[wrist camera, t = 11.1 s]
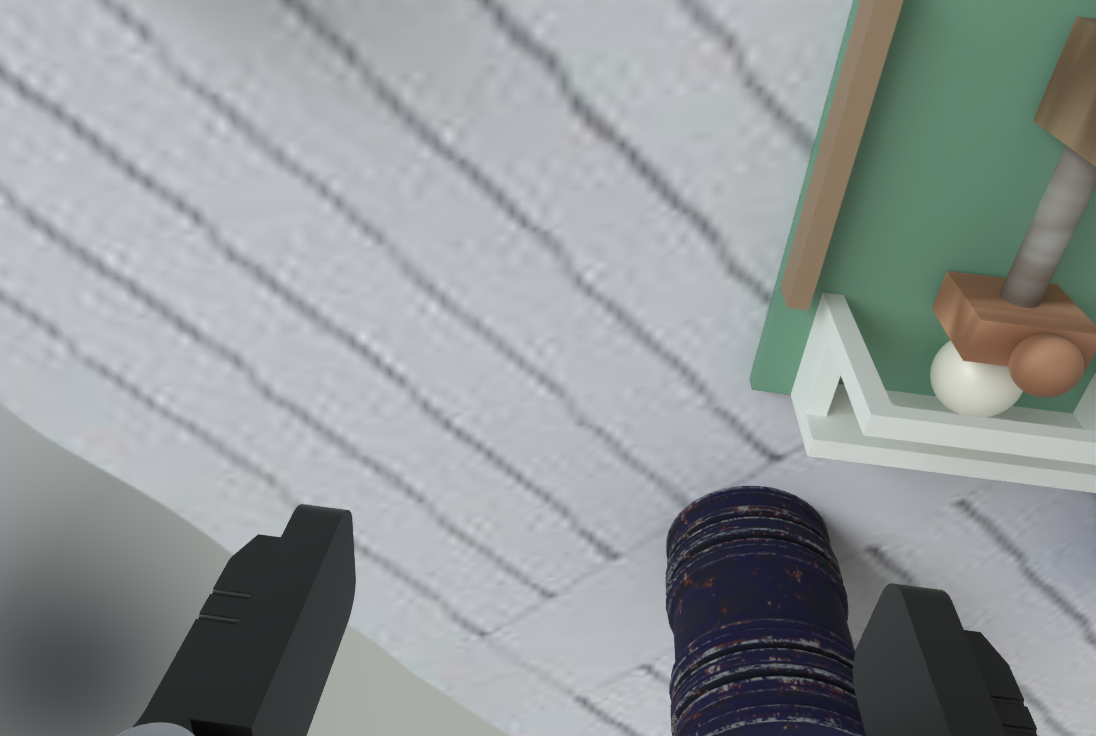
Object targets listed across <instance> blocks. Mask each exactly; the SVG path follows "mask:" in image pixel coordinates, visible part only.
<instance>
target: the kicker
mask: <svg viewBox="0 0 1096 736" xmlns="http://www.w3.org/2000/svg"><path fill="white" fill-rule="evenodd" d="M1033 121H1034V122H1035V123H1037V124H1038V125H1039V126H1041V127H1042V128H1043V129H1045V130H1046V131H1048V132H1049V133H1050V134H1052V135H1053V136H1054V137H1056V138H1057V139H1058V140H1060V141H1061V142H1062V143H1064V144H1065V148H1064V150H1063V152H1062V154H1061V157H1060V159H1059V161H1058V163H1057V166H1056V168H1055V170H1054V172H1053V175H1052V177H1051V179H1050V181H1049V183H1048V186H1047V188H1046V190H1045V192H1044V195H1043V197H1042V199H1041V201H1040V204H1039V206H1038V208H1037V210H1036V213H1035V215H1034V217H1033V219H1032V221H1031V224H1030V226H1029V228H1028V230H1027V233H1026V235H1025V237H1024V239H1023V242H1022V244H1021V246H1020V248H1019V251H1018V253H1017V255H1016V257H1015V259H1014V262H1013V264H1012V266H1011V268H1010V271H1009V273H1008V275H1007V277H1006V278H1000V277H992V276H984V275H975V274H967V273H959V272H951V271H947V272H946V275H945V277H944V280H943V282H942V285H941V287H940V290H939V292H938V295H937V297H936V300H935V302H934V305H933V307H932V311H933V312H934V314H935V315H936V317H937V319H938V320H939V322H940V324H941V325H942V327H943V329H944V330H945V332H946V333H947V335H948V337H949V338H950V340H951V342H952V343H953V345H954V347H955V348H956V350H957V351H958V353H959V355H960V356H961V358H962V360H963V361H968V362H976V363H984V364H992V365H1000V366H1008V367H1009V372H1010V376H1011V378H1012V380H1013V381H1014V383H1015V384H1016V385H1017V386H1018V387H1019V388H1020V389H1021V390H1023V391H1024V392H1026V393H1028V394H1030V395H1033V396H1036V397H1043V398H1050V397H1056V396H1060V395H1062V394H1065V393H1067V392H1068V391H1070V390H1071V389H1072V388H1074V387H1075V386H1076V385H1077V383H1078V382H1079V381H1080V379H1081V377H1082V376H1083V374H1084V372H1085V370H1086V368H1087V367H1088V365H1089V363H1090V361H1091V359H1092V357H1093V356H1094V354H1095V352H1096V326H1095V325H1094V323H1093V322H1092V321H1091V320H1090V319H1089V318H1088V317H1087V316H1086V315H1085V314H1084V313H1083V311H1082V310H1081V309H1080V308H1079V307H1078V306H1077V305H1076V304H1075V303H1074V302H1073V301H1072V300H1071V298H1070V297H1069V296H1068V295H1067V294H1066V293H1065V292H1064V291H1063V290H1062V289H1061V288H1060V286H1059V285H1058V284H1050V281H1051V279H1052V277H1053V275H1054V273H1055V271H1056V269H1057V267H1058V265H1059V263H1060V260H1061V258H1062V256H1063V254H1064V252H1065V250H1066V248H1067V246H1068V244H1069V242H1070V240H1071V238H1072V236H1073V234H1074V231H1075V229H1076V227H1077V225H1078V223H1079V221H1080V219H1081V217H1082V215H1083V213H1084V211H1085V209H1086V207H1087V204H1088V202H1089V200H1090V198H1091V196H1092V194H1093V192H1094V190H1095V188H1096V18H1087V17H1078V16H1077V17H1076V19H1075V21H1074V24H1073V26H1072V29H1071V31H1070V33H1069V36H1068V38H1067V40H1066V43H1065V45H1064V48H1063V50H1062V52H1061V55H1060V57H1059V60H1058V62H1057V64H1056V67H1055V69H1054V72H1053V74H1052V76H1051V79H1050V81H1049V84H1048V86H1047V88H1046V91H1045V93H1044V96H1043V98H1042V100H1041V103H1040V105H1039V107H1038V110H1037V112H1036V115H1035V117H1034V119H1033Z"/></svg>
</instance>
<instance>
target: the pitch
mask: <svg viewBox="0 0 1096 736" xmlns="http://www.w3.org/2000/svg"><path fill="white" fill-rule="evenodd" d="M1077 16H1078V17H1087V18H1096V0H854V1H853V5H852V8H851V12H850V16H849V19H848V23H847V27H846V30H845V34H844V37H843V41H842V45H841V48H840V52H839V56H838V59H837V63H836V67H835V70H834V74H833V78H832V81H831V85H830V88H829V92H828V96H827V99H826V103H825V107H824V110H823V114H822V118H821V121H820V125H819V129H818V132H817V136H816V139H815V143H814V147H813V150H812V154H811V158H810V161H809V165H808V169H807V172H806V176H805V180H804V183H803V187H802V190H801V194H800V198H799V201H798V205H797V209H796V212H795V216H794V220H793V223H792V227H791V231H790V234H789V238H788V241H787V245H786V249H785V252H784V256H783V260H782V263H781V267H780V271H779V274H778V278H777V282H776V285H775V289H774V292H773V296H772V300H771V303H770V307H769V311H768V314H767V318H766V322H765V325H764V329H763V333H762V336H761V340H760V343H759V347H758V351H757V354H756V358H755V362H754V365H753V369H752V373H751V376H750V383H751V388H752V390H758V391H766V392H774V393H782V394H790V395H791V398H792V402H793V405H794V409H795V413H796V416H797V420H798V424H799V427H800V431H801V435H802V439H803V442H804V446H805V450H806V453H807V456H810V457H818V458H826V459H833V460H841V461H849V462H857V463H865V464H873V465H880V466H888V467H896V468H904V469H912V470H919V471H927V472H935V473H943V474H951V475H959V476H966V477H974V478H982V479H990V480H998V481H1006V482H1013V483H1021V484H1029V485H1037V486H1045V487H1052V488H1060V489H1068V490H1076V491H1084V492H1092V493H1096V352H1095V354H1094V356H1093V357H1092V359H1091V361H1090V363H1089V365H1088V367H1087V368H1086V370H1085V372H1084V374H1083V376H1082V377H1081V379H1080V381H1079V382H1078V383H1077V385H1076V386H1075V387H1074V388H1072V389H1071V390H1070V391H1068V392H1067V393H1065V394H1062V395H1060V396H1056V397H1050V398H1043V397H1036V396H1033V395H1030V394H1028V393H1026V392H1024V391H1023V392H1022V394H1021V396H1020V397H1019V399H1018V400H1017V401H1016V402H1015V403H1014V404H1013V405H1012V406H1011V407H1010V408H1008V409H1007V410H1006V411H1004V412H1002V413H1000V414H997V415H994V416H991V417H979V416H971V415H963V414H957V413H955V412H953V411H951V410H950V409H948V408H947V407H946V406H945V405H944V404H943V403H942V402H941V401H940V400H939V399H938V397H937V396H936V395H935V393H934V391H933V388H932V385H931V379H930V370H931V365H932V362H933V360H934V357H935V356H936V354H937V352H938V351H939V350H940V349H941V348H942V347H943V346H944V345H945V344H946V343H947V342H949V341H950V338H949V337H948V335H947V333H946V332H945V330H944V329H943V327H942V325H941V324H940V322H939V320H938V319H937V317H936V315H935V314H934V312H933V311H932V307H933V305H934V302H935V300H936V297H937V295H938V292H939V290H940V287H941V285H942V282H943V280H944V277H945V275H946V272H947V271H951V272H959V273H967V274H975V275H984V276H992V277H1000V278H1006V277H1007V275H1008V273H1009V271H1010V268H1011V266H1012V264H1013V262H1014V259H1015V257H1016V255H1017V253H1018V251H1019V248H1020V246H1021V244H1022V242H1023V239H1024V237H1025V235H1026V233H1027V230H1028V228H1029V226H1030V224H1031V221H1032V219H1033V217H1034V215H1035V213H1036V210H1037V208H1038V206H1039V204H1040V201H1041V199H1042V197H1043V195H1044V192H1045V190H1046V188H1047V186H1048V183H1049V181H1050V179H1051V177H1052V175H1053V172H1054V170H1055V168H1056V166H1057V163H1058V161H1059V159H1060V157H1061V154H1062V152H1063V150H1064V148H1065V144H1064V143H1062V142H1061V141H1060V140H1058V139H1057V138H1056V137H1054V136H1053V135H1052V134H1050V133H1049V132H1048V131H1046V130H1045V129H1043V128H1042V127H1041V126H1039V125H1038V124H1037V123H1035V122H1034V121H1033V119H1034V117H1035V115H1036V112H1037V110H1038V107H1039V105H1040V103H1041V100H1042V98H1043V96H1044V93H1045V91H1046V88H1047V86H1048V84H1049V81H1050V79H1051V76H1052V74H1053V72H1054V69H1055V67H1056V64H1057V62H1058V60H1059V57H1060V55H1061V52H1062V50H1063V48H1064V45H1065V43H1066V40H1067V38H1068V36H1069V33H1070V31H1071V29H1072V26H1073V24H1074V21H1075V19H1076V17H1077ZM1050 284H1058V285H1059V286H1060V288H1061V289H1062V290H1063V291H1064V292H1065V293H1066V294H1067V295H1068V296H1069V297H1070V298H1071V300H1072V301H1073V302H1074V303H1075V304H1076V305H1077V306H1078V307H1079V308H1080V309H1081V310H1082V311H1083V313H1084V314H1085V315H1086V316H1087V317H1088V318H1089V319H1090V320H1091V321H1092V322H1093V323H1094V325H1095V326H1096V188H1095V190H1094V192H1093V194H1092V196H1091V198H1090V200H1089V202H1088V204H1087V207H1086V209H1085V211H1084V213H1083V215H1082V217H1081V219H1080V221H1079V223H1078V225H1077V227H1076V229H1075V231H1074V234H1073V236H1072V238H1071V240H1070V242H1069V244H1068V246H1067V248H1066V250H1065V252H1064V254H1063V256H1062V258H1061V260H1060V263H1059V265H1058V267H1057V269H1056V271H1055V273H1054V275H1053V277H1052V279H1051V281H1050Z"/></svg>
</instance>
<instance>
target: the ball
mask: <svg viewBox="0 0 1096 736" xmlns="http://www.w3.org/2000/svg"><path fill="white" fill-rule="evenodd" d="M930 379H931V385H932V388H933V391H934V393H935V395H936V396H937V397H938V399H939V400H940V401H941V402H942V403H943V404H944V405H945V406H946V407H947V408H948V409H950V410H951V411H953V412H955V413H957V414H963V415H971V416H979V417H991V416H994V415H997V414H1000V413H1002V412H1004V411H1006V410H1007V409H1008V408H1010V407H1011V406H1012V405H1013V404H1014V403H1015V402H1016V401H1017V400H1018V399H1019V397H1020V396H1021V394H1022V392H1023V390H1021V389H1020V388H1019V387H1018V386H1017V385H1016V384H1015V383H1014V381H1013V380H1012V378H1011V376H1010V372H1009V367H1008V366H1000V365H992V364H984V363H976V362H968V361H963V360H962V358H961V356H960V355H959V353H958V351H957V350H956V348H955V347H954V345H953V343H952V342H951V340H950V341H949V342H947V343H946V344H945V345H944V346H943V347H942V348H941V349H940V350H939V351H938V352H937V354H936V356H935V357H934V360H933V362H932V365H931V370H930Z"/></svg>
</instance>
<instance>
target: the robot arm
mask: <svg viewBox="0 0 1096 736" xmlns="http://www.w3.org/2000/svg"><path fill="white" fill-rule="evenodd" d="M355 584H356V575H355V558H354V540H353V523H352V515H351V512H350V511H349V510H343V509H335V508H327V507H320V506H312V505H305V504H300V505H299V506H298V507H297V508H296V509H295V511H294V513H293V514H292V516H291V518H290V520H289V522H288V524H287V526H286V528H285V530H284V532H283V534H282V536H281V537H274V536H266V535H259V534H258V535H257V536H256V537H255V538H253V539H252V540H251V541H250V542H249V543H248V544H246V545H245V546H244V547H243V548H242V549H241V550H239V551H238V552H237V553H236V554H235V555H233V556H232V557H231V558H230V560H229V561H228V563H227V565H226V567H225V568H224V570H223V572H222V574H221V575H220V577H219V579H218V581H217V583H216V584H215V586H214V588H213V593H212V594H210V595H209V597H208V599H207V600H206V602H205V604H204V606H203V608H202V609H201V611H200V615H199V619H196V620H195V622H194V624H193V625H192V627H191V629H190V631H189V633H188V635H187V636H186V638H185V640H184V642H183V643H182V645H181V647H180V649H179V651H178V652H177V654H176V656H175V658H174V660H173V662H172V663H171V665H170V667H169V669H168V671H167V672H166V674H165V676H164V678H163V679H162V681H161V683H160V685H159V686H158V688H157V690H156V692H155V694H154V695H153V697H152V699H151V701H150V702H149V705H148V706H147V708H146V710H145V711H144V713H143V714H142V716H141V717H140V719H139V720H138V721H137V722H136V724H135V725H134V726H133V727H132V728H130V729H128V730H126V731H124V732H121V733H119V734H118V735H116V736H306V735H307V733H308V730H309V727H310V724H311V722H312V719H313V716H314V714H315V711H316V708H317V705H318V703H319V700H320V697H321V694H322V692H323V689H324V686H325V683H326V681H327V678H328V675H329V673H330V670H331V667H332V664H333V662H334V659H335V656H336V653H337V651H338V648H339V645H340V642H341V640H342V637H343V634H344V632H345V629H346V626H347V623H348V620H349V617H350V614H351V610H352V605H353V600H354V594H355ZM853 683H854V690H855V694H856V698H857V702H858V706H859V710H860V714H861V718H862V722H863V726H864V730H865V734H866V736H1037V734H1036V730H1037V728H1036V725H1035V723H1034V721H1033V719H1032V716H1031V714H1030V712H1029V710H1028V707H1025V706H1024V703H1023V702H1024V698H1023V696H1022V694H1021V692H1020V689H1019V687H1018V685H1017V683H1016V680H1015V678H1014V676H1013V674H1012V671H1011V669H1010V667H1009V665H1008V663H1007V662H1006V661H1005V660H1004V659H1003V658H1002V657H1001V655H1000V654H999V653H998V652H997V651H996V650H995V648H994V647H993V646H992V645H991V644H990V643H989V641H988V640H987V639H986V638H985V637H984V636H983V635H982V633H981V632H975V631H967V630H963V627H962V625H961V622H960V620H959V617H958V615H957V612H956V610H955V608H954V605H953V603H952V601H951V598H950V597H949V595H948V594H947V593H946V592H945V591H943V590H937V589H929V588H922V587H914V586H907V585H899V584H889V585H887V586H886V587H885V588H884V590H883V592H882V594H881V596H880V598H879V601H878V603H877V605H876V607H875V609H874V611H873V613H872V616H871V618H870V620H869V622H868V624H867V626H866V629H865V631H864V633H863V635H862V637H861V639H860V641H859V644H858V646H857V648H856V652H855V656H854V663H853Z"/></svg>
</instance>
